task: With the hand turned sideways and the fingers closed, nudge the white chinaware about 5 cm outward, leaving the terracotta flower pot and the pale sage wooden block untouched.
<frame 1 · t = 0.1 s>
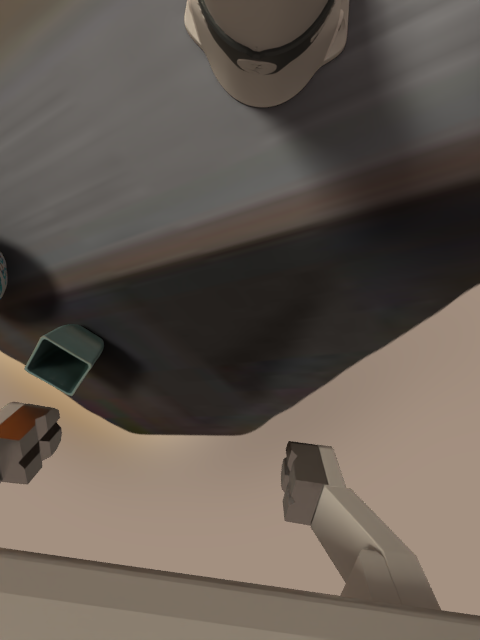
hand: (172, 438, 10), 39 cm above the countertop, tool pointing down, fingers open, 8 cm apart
flower pot: (87, 339, 56), on the countertop
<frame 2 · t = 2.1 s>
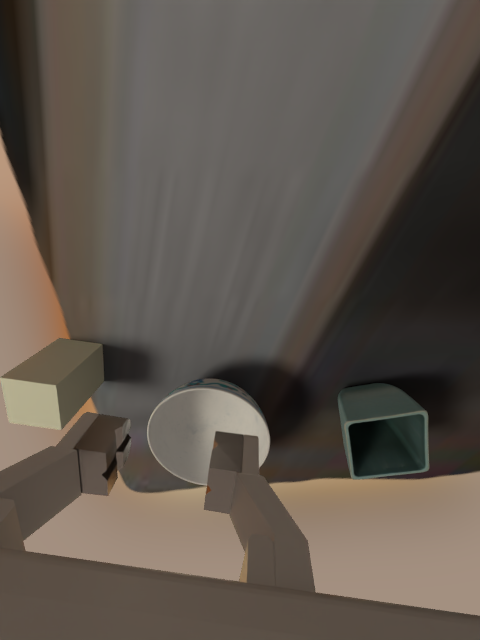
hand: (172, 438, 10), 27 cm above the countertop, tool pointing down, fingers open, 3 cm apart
flower pot: (360, 398, 41), on the countertop
chinaware: (216, 400, 43), on the countertop
sage block: (82, 360, 41), on the countertop
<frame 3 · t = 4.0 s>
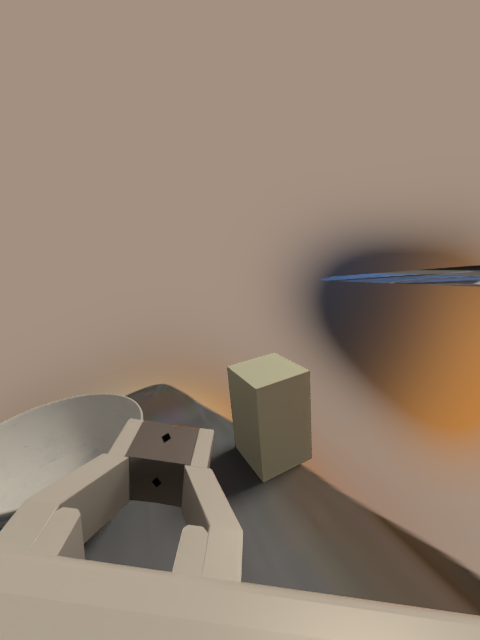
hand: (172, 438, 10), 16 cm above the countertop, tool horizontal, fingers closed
chinaware: (72, 511, 27), on the countertop
sage block: (272, 452, 32), on the countertop
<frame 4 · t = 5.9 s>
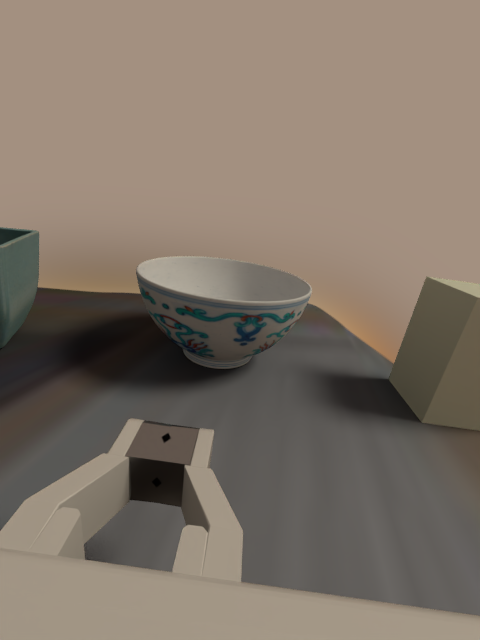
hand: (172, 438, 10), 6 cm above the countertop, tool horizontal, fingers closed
chinaware: (217, 352, 29), on the countertop
sage block: (437, 403, 25), on the countertop
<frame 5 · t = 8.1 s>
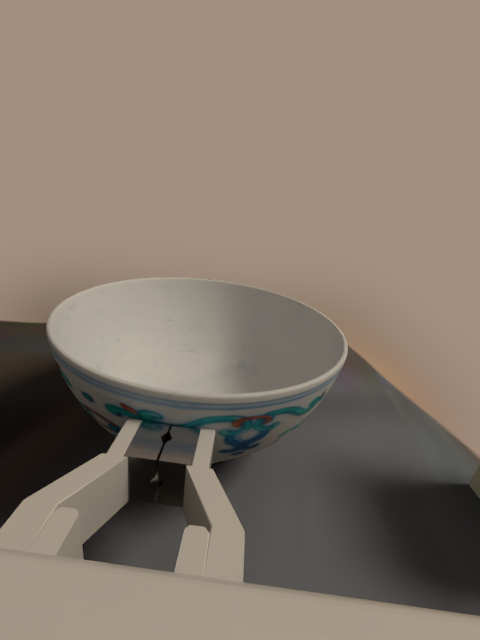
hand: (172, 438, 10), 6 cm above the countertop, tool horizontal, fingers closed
chinaware: (197, 425, 19), on the countertop, touching gripper
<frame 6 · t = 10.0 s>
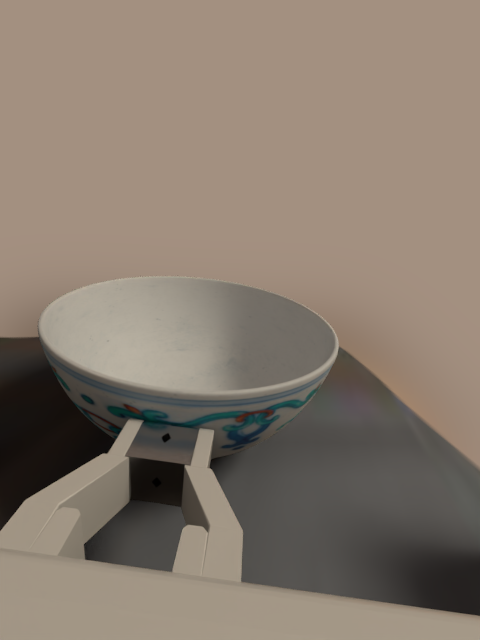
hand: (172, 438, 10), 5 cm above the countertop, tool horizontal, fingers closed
chinaware: (191, 423, 19), on the countertop
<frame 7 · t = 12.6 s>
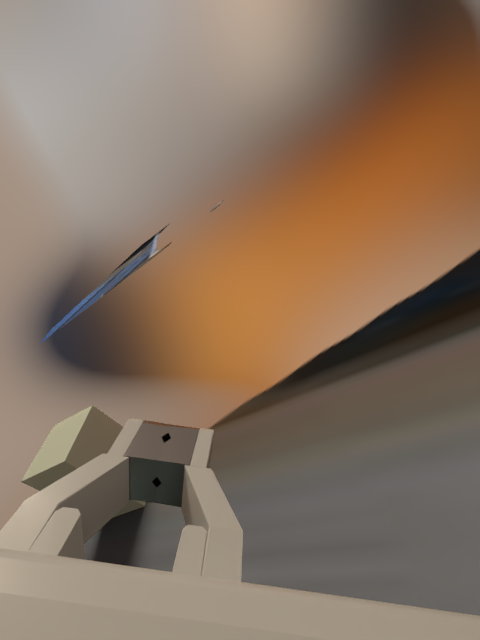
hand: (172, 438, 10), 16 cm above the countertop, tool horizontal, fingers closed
sage block: (131, 484, 33), on the countertop
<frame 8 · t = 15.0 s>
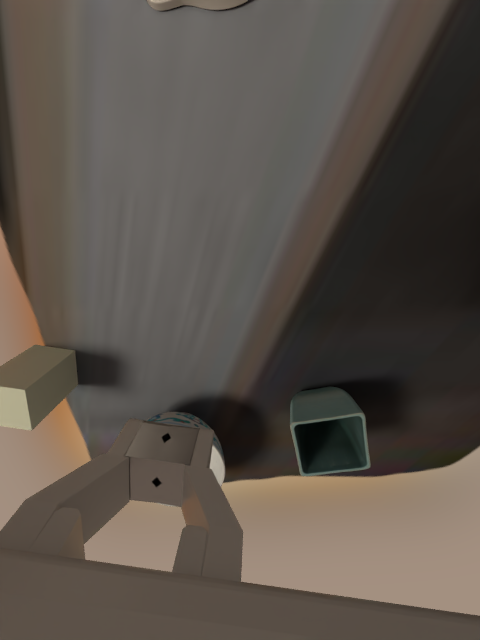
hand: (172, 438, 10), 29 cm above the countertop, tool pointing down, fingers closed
flower pot: (316, 400, 44), on the countertop
chinaware: (184, 427, 47), on the countertop
sage block: (57, 365, 44), on the countertop
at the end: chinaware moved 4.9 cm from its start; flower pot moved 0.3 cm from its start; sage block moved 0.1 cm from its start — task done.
